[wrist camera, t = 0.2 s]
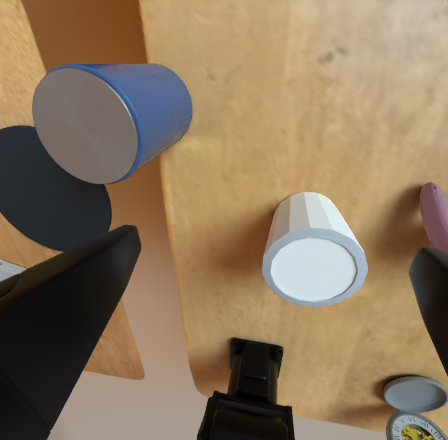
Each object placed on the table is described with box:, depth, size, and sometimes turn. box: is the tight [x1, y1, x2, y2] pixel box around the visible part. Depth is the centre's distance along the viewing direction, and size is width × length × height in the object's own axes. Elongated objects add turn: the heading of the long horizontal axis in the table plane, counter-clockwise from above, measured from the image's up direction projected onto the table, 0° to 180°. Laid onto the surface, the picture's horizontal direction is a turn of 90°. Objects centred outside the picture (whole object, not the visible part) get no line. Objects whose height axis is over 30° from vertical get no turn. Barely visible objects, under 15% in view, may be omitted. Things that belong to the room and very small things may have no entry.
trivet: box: [0, 126, 112, 252], centre depth 28 cm, size 14×14×1 cm
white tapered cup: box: [262, 192, 368, 307], centre depth 21 cm, size 7×7×7 cm
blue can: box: [32, 64, 192, 184], centre depth 18 cm, size 6×6×9 cm
